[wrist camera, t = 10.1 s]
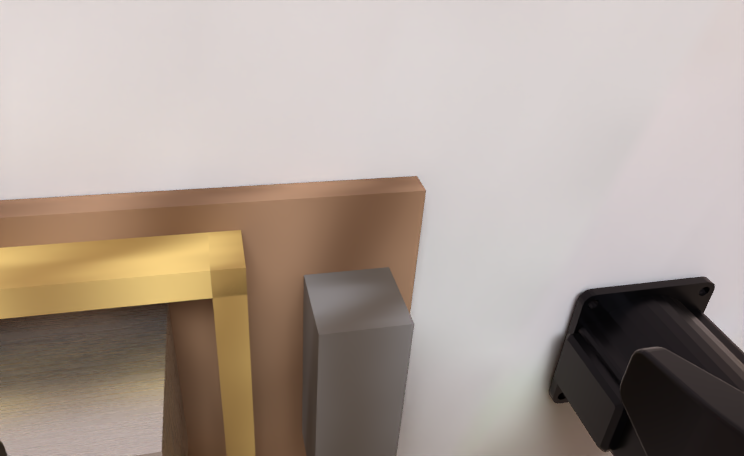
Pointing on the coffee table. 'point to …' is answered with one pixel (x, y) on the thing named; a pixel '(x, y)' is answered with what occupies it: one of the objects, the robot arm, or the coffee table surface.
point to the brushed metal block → (91, 384)
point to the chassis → (245, 300)
